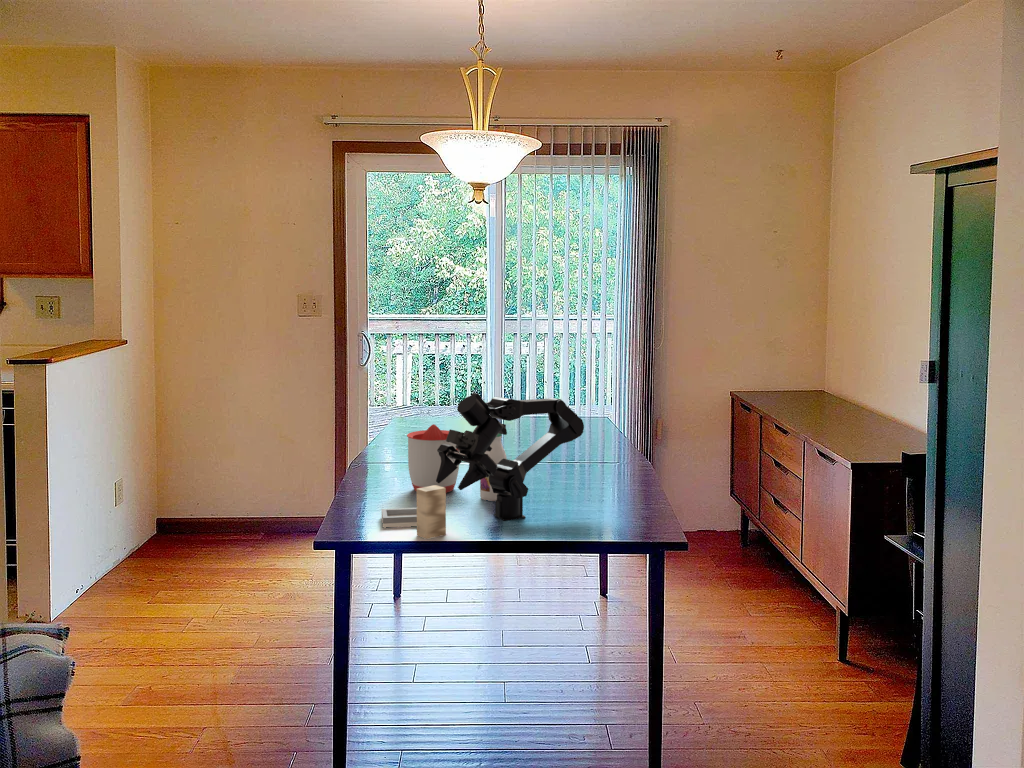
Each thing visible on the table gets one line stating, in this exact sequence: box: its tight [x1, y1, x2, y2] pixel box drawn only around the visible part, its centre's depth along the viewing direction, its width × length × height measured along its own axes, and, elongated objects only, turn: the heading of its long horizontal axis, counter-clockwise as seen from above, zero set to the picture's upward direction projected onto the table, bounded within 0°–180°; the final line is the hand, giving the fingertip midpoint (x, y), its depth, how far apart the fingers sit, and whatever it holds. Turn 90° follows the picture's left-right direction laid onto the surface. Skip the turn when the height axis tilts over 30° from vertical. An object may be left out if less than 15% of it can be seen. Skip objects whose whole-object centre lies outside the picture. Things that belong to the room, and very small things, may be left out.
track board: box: [381, 507, 417, 529], centre depth 249 cm, size 16×10×2 cm, turn 100°
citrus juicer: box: [406, 423, 460, 494], centre depth 281 cm, size 16×17×20 cm
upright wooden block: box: [416, 485, 447, 540], centre depth 236 cm, size 6×4×12 cm, turn 131°
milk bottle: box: [479, 434, 508, 502], centre depth 272 cm, size 8×8×20 cm
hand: (448, 485), depth 239 cm, fingers open, 9 cm apart
